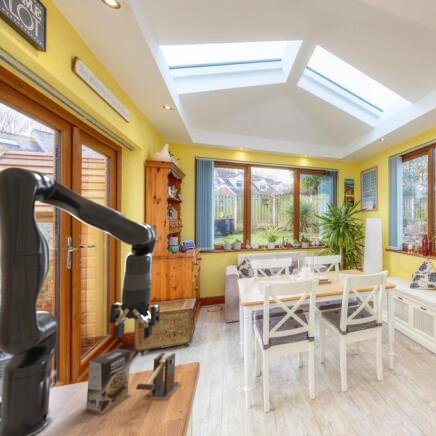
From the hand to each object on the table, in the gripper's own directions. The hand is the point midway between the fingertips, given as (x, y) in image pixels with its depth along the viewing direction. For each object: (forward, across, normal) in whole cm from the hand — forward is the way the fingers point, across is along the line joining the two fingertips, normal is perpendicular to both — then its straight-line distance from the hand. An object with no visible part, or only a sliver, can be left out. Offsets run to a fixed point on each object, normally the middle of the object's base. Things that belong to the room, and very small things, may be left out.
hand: (133, 337), depth 82 cm
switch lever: (+16, +4, +8) cm, 18 cm away
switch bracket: (+25, +4, +12) cm, 28 cm away
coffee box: (+25, -10, +5) cm, 28 cm away
